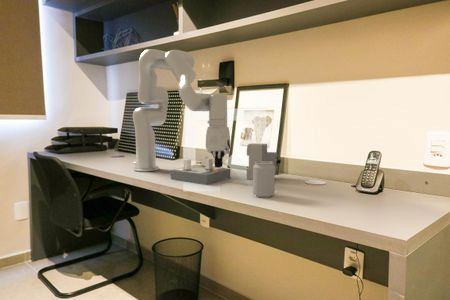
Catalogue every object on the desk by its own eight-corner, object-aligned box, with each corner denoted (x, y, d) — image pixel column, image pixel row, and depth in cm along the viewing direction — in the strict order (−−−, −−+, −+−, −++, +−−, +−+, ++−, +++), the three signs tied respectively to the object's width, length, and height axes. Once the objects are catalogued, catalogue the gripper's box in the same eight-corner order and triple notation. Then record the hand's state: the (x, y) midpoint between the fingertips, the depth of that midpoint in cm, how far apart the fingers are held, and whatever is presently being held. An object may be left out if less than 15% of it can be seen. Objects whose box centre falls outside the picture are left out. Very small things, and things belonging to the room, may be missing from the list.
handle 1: (182, 169, 140) (182, 159, 139) (187, 168, 142) (187, 158, 142) (187, 170, 138) (187, 160, 138) (192, 169, 141) (192, 159, 140)
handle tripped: (204, 169, 141) (204, 159, 140) (208, 168, 143) (208, 158, 143) (209, 170, 139) (209, 159, 139) (213, 168, 142) (213, 158, 141)
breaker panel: (170, 179, 143) (170, 169, 143) (196, 173, 157) (195, 163, 156) (206, 184, 132) (206, 173, 131) (230, 177, 146) (230, 167, 145)
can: (257, 199, 110) (258, 164, 109) (249, 193, 117) (250, 160, 116) (278, 197, 112) (278, 162, 111) (269, 192, 119) (269, 159, 118)
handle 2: (200, 165, 150) (200, 156, 149) (204, 165, 152) (204, 155, 152) (205, 166, 148) (205, 156, 148) (209, 165, 151) (209, 156, 150)
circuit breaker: (279, 180, 139) (280, 145, 137) (246, 179, 142) (246, 145, 140) (280, 177, 146) (281, 143, 144) (248, 176, 149) (248, 143, 147)
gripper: (198, 123, 137) (199, 166, 139) (227, 124, 129) (228, 170, 131) (209, 122, 143) (210, 164, 145) (238, 123, 135) (238, 167, 137)
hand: (218, 166), depth 138 cm, fingers closed
